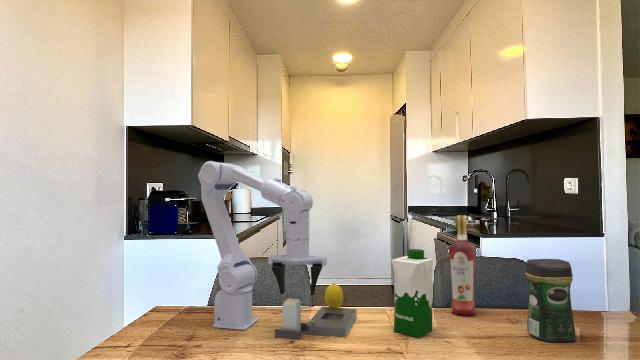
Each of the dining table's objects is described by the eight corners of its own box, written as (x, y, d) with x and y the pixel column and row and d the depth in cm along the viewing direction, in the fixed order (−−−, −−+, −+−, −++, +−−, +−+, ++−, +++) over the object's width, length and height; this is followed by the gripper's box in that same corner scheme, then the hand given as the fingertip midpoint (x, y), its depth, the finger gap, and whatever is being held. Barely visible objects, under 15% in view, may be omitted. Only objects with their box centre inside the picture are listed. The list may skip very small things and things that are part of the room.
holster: (274, 338, 93) (274, 329, 93) (284, 329, 99) (284, 321, 99) (300, 340, 91) (300, 332, 91) (308, 331, 97) (308, 323, 98)
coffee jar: (561, 331, 96) (559, 256, 97) (581, 343, 88) (579, 262, 89) (521, 330, 96) (520, 256, 97) (538, 343, 88) (536, 261, 89)
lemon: (341, 313, 111) (341, 285, 111) (323, 312, 112) (322, 284, 112) (344, 308, 116) (344, 281, 116) (326, 307, 117) (326, 280, 117)
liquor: (479, 311, 112) (477, 215, 112) (474, 319, 105) (472, 216, 106) (453, 308, 115) (451, 214, 116) (447, 314, 109) (445, 216, 110)
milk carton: (437, 330, 97) (436, 250, 97) (420, 340, 90) (418, 255, 91) (406, 322, 103) (405, 247, 103) (388, 331, 96) (387, 251, 97)
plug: (282, 335, 94) (282, 302, 94) (287, 330, 97) (287, 298, 98) (296, 336, 93) (296, 303, 93) (301, 331, 96) (300, 299, 97)
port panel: (305, 334, 95) (305, 323, 95) (322, 314, 110) (322, 305, 110) (345, 337, 92) (345, 326, 92) (356, 317, 108) (356, 307, 108)
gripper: (265, 240, 93) (264, 297, 92) (324, 241, 91) (324, 299, 91) (272, 236, 100) (272, 289, 99) (327, 237, 98) (327, 291, 98)
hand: (297, 293), depth 95 cm, fingers open, 7 cm apart
